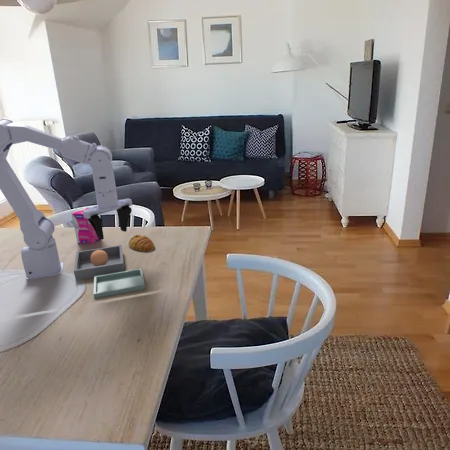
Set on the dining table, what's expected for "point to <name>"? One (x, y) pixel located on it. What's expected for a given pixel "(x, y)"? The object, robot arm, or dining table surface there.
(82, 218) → the supplement box
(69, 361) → the dining table surface
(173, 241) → the dining table surface
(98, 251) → the egg
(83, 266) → the open square box
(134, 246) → the pastry
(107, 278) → the tray
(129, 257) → the dining table surface
